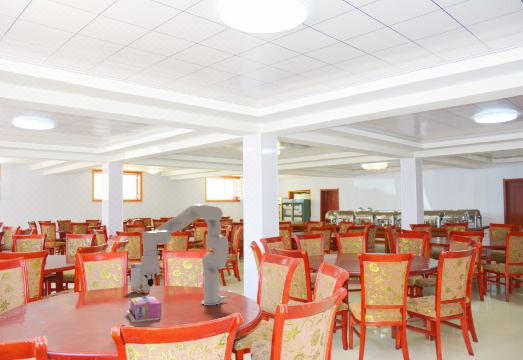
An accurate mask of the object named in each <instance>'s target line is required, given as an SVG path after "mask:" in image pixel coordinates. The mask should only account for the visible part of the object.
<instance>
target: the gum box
mask: <svg viewBox="0 0 523 360" xmlns="http://www.w3.org/2000/svg"><path fill="white" fill-rule="evenodd" d="M129 301H130V306H129V309H128V311H129V312H130V313H131V314H132V316H133V317H134V318H135V320H141V319H150V318H162V302H161V300H158V299H157V298H156V296H154V295H146V296H140V297H139V296H138V297H131V298H129Z"/></svg>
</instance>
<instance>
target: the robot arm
mask: <svg viewBox="0 0 523 360" xmlns="http://www.w3.org/2000/svg"><path fill="white" fill-rule="evenodd" d="M222 218H223V210H222V209H221V208H220V207H218V206H213V205H208V204H203V203H201V204H200V203H197V204H196V203H195V204H190V205H189V206H188V207H186V208H185V209H184V210H182V211H181V212H180V213H178V214H177V215H176V216H174V217H173V218H171V219H169V220H167V221H166V222H163V223H161V225H159V226H158V227H157V228H155V229H154V230H153V231H150V230H148V231H144V232H143V233H142V252H143V253H142V255H141V259H140V263H141V276H142V277H146V278H147V279H148V285H149V287H150V288H151V287H153V285H154V279H155V278H156V277H157V276H160V275H161V268H160V267H161V265H160V259H159V255H158V254H160V250H157V249H158V248H157V247H158V246H157V244H168V243H169V242H170V241H171V239H172V233H174V232H177V231H180V230H184V229H185V228H186V227H187V226H189V225H190V224H191V223H192V222H194V221H195V220H196V219H203V220H204V221H205V223H206V225H207V235H206V243H205V244H206V248H207V249H209V250H211V251H208V252H206V253H205V254H203V256H202V261H201V262H202V267H203V300H202V301H201V303H202V304H204V305H203V306H217V305H216V304H218V305H221V304H222V303H223V302H222V301H223V300H227V299H228V298H227V295H226V296H223V295H222V296H221V295H220V272H219V270H222V269H224V268H225V267H226V265H227V262H228V254H229V241H228V240H229V239H228V238H227V237H226V236H224V235H222V225H221V224H222V223H221V221H220V220H221V219H222ZM213 251H214V252H213ZM149 274H150V276H149ZM201 303H200V304H201ZM220 303H221V304H220ZM202 304H201V305H202Z"/></svg>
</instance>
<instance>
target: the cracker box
mask: <svg viewBox="0 0 523 360" xmlns="http://www.w3.org/2000/svg"><path fill="white" fill-rule="evenodd" d="M149 276H150V277H151V274H149ZM131 291H133V292H139V293H138V294H141V293H146V294H148V293H147V292H150V293H151V287H149V285H148V279H147V278H146V277H142V276H141V262H132V263H131V264H130V292H131ZM133 292H132V293H133Z"/></svg>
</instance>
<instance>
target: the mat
mask: <svg viewBox="0 0 523 360" xmlns="http://www.w3.org/2000/svg"><path fill="white" fill-rule="evenodd" d="M126 313H127V315H128V316H129V319H130V320H131V321H132V323H137V322H146V321H154V320H155V321H156V320H160V319H161V317H159V318H150V319H141V320H135V318H134V317H133V316H132V314H131V313H130V312H129V310H127V311H126Z"/></svg>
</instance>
